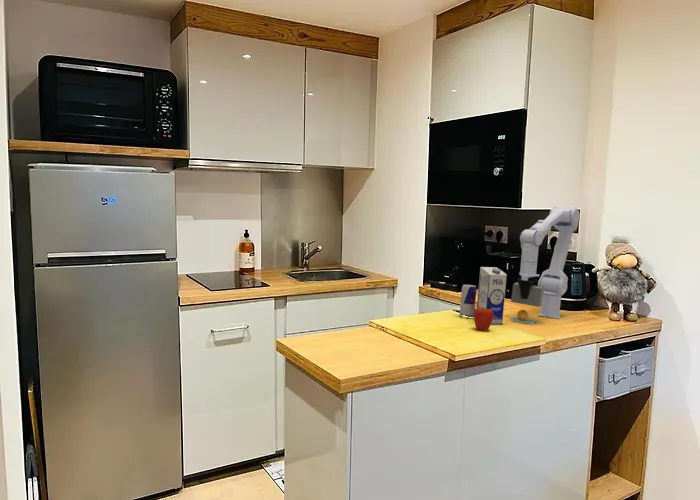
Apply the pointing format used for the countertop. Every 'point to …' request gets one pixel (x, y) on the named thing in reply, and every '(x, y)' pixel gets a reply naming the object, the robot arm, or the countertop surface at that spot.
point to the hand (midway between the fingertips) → (525, 297)
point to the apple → (483, 318)
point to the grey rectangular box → (533, 297)
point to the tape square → (529, 321)
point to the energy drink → (468, 300)
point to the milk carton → (492, 292)
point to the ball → (522, 315)
